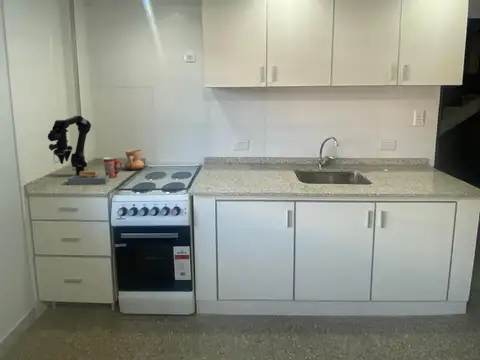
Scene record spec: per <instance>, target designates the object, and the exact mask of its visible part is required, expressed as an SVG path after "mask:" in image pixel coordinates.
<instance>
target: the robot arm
mask: <svg viewBox="0 0 480 360" xmlns="http://www.w3.org/2000/svg"><path fill="white" fill-rule="evenodd" d="M74 124H75V125H76V126H77V130H78V136H77V142H76V146H75V151H74V152H73V153H72V151H73V147H72V145H68V142H69V140H68V138H67V133H68V132H69V130H68V128H69V126H71V125H74ZM91 128H92V123H91V122H90V121H89V120H88V119H86V118H84V117H83V116H82V115H73V116H72V117H69V118H67V119H56V120H55V121H54V124H53V126H52V129H51V130H49V133H48V135H47V139H48V141H50V142H55V141H56V143H55V144H54V143H50V144H49V145H48V150H50V151H53V155H55V156H57V157H58V158H57V159H58V160H59V162H60V164H61V165H64V160H65V162H68V161H69V160H70V163H71V167H72V168H75V174H74V175H73V176H80V174H79V172H81V171H85V168H86V167H87V166H88V163H87V162H86V160H85V155H84V148H85V143H86V141H87V140H86V139H87V134H88V133H89V132H90V131H91Z"/></svg>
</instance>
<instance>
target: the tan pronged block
mask: <svg viewBox="0 0 480 360" xmlns="http://www.w3.org/2000/svg"><path fill="white" fill-rule="evenodd" d="M79 174H80V177H81V178H85V176H91V178H96V175H98V173H97V171H96V170H84V171H81V172H79Z"/></svg>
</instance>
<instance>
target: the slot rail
mask: <svg viewBox="0 0 480 360" xmlns="http://www.w3.org/2000/svg"><path fill="white" fill-rule="evenodd" d="M109 182H110V178H109V175H106V174H104V175H99V174H97V175H96V178H91V176H85V178H81V177H80V176H74V175H70V176H69V177H68V178H67V185H69V186H71V185H74V186H79V185H80V186H81V185H89V186H90V185H107V184H108V183H109Z"/></svg>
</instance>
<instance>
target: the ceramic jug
mask: <svg viewBox="0 0 480 360" xmlns="http://www.w3.org/2000/svg"><path fill="white" fill-rule="evenodd" d="M124 152H125V155H126V158H127V161H126V162H125V163H124V168H125V169H127V170H130V171H138V170H141V169H143V168H145V163H144V162H143V161H142V160H141V158H142V155H143V149H127V150H125V151H124Z"/></svg>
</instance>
